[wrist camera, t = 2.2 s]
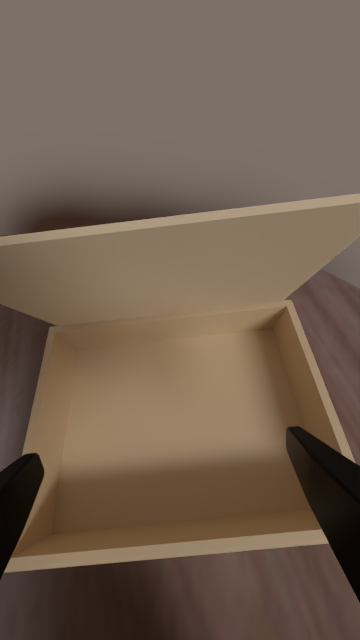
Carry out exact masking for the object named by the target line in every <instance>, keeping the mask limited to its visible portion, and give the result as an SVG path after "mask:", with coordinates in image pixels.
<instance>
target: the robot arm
mask: <svg viewBox="0 0 360 640" xmlns="http://www.w3.org/2000/svg"><path fill="white" fill-rule="evenodd" d="M286 449H287V453H288V455H289V458H290V460H291V463H292V465H293V467H294V470H295V472H296V475H297V477H298V480H299V482H300V485H301V487H302V490H303V492H304V494H305V497H306V499H307V501H308V503H309V505H310V507H311V509H312V511H313V513H314V515H315V517H316V519H317V521H318V523H319V525H320V527H321V529H322V531H323V533H324V535H325V536H326V538H327V540H328V542H329V544H330V546H331V548H332V550H333V552H334V554H335V556H336V558H337V560H338V562H339V564H340V565H341V567H342V569H343V571H344V573H345V575H346V577H347V579H348V581H349V583H350V585H351V587H352V589H353V591H354V593H355V594H356V596H357V598H358V600H359V602H360V466H359V465H357V464H356V463H354V462H353V461H351V460H350V459H348V458H347V457H345V456H344V455H342V454H341V453H339V452H338V451H336V450H335V449H333V448H332V447H330V446H329V445H327V444H326V443H324V442H323V441H321V440H320V439H318V438H316V437H315V436H313V435H312V434H310V433H309V432H307V431H306V430H304V429H303V428H301V427H300V426H290V427H287V429H286ZM43 478H44V467H43V464H42V461H41V459H40V456H39V454H38V453H27V454H24V455H23V456H21V457H20V458H19V459H17V460H16V461H15V462H13V463H12V464H11V465H9V466H8V467H7V468H5V469H4V470H2V471H1V472H0V580H1V578H2V575H3V573H4V571H5V569H6V567H7V565H8V563H9V560H10V558H11V556H12V554H13V552H14V550H15V548H16V545H17V543H18V541H19V539H20V537H21V535H22V532H23V530H24V528H25V525H26V523H27V520H28V518H29V515H30V512H31V510H32V507H33V504H34V502H35V499H36V497H37V494H38V491H39V489H40V486H41V483H42V481H43Z"/></svg>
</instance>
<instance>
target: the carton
mask: <svg viewBox="0 0 360 640" xmlns="http://www.w3.org/2000/svg"><path fill="white" fill-rule="evenodd" d="M290 426H300V427H301V428H303V429H304V430H306V431H307V432H309V433H310V434H312V435H313V436H315V437H316V438H318V439H320V440H321V441H323V442H324V443H326V444H327V445H329V446H330V447H332V448H333V449H335V450H336V451H338V452H339V453H341V454H342V455H344V456H345V457H347V458H348V459H350V460H351V461H353V462H354V463H355V460H354V458H353V455H352V453H351V450H350V448H349V445H348V443H347V440H346V437H345V435H344V432H343V430H342V427H341V425H340V422H339V420H338V417H337V415H336V412H335V409H334V407H333V404H332V402H331V399H330V397H329V394H328V392H327V389H326V387H325V384H324V382H323V379H322V376H321V374H320V371H319V369H318V366H317V364H316V361H315V359H314V356H313V354H312V351H311V348H310V346H309V343H308V341H307V338H306V336H305V333H304V331H303V328H302V326H301V323H300V320H299V318H298V315H297V313H296V310H295V308H294V305H293V303H292V300H284V301H280V302H271V303H262V304H253V305H244V306H235V307H226V308H218V309H209V310H200V311H191V312H182V313H173V314H164V315H155V316H146V317H137V318H128V319H120V320H111V321H102V322H93V323H84V324H75V325H66V326H53V327H50V328H49V332H48V337H47V341H46V346H45V351H44V355H43V360H42V365H41V369H40V374H39V379H38V383H37V388H36V392H35V397H34V402H33V406H32V411H31V416H30V420H29V425H28V429H27V434H26V439H25V443H24V448H23V453H22V456H23V455H24V454H27V453H38V454H39V456H40V459H41V461H42V464H43V467H44V478H43V481H42V483H41V486H40V489H39V491H38V494H37V497H36V499H35V502H34V504H33V507H32V510H31V512H30V515H29V518H28V520H27V523H26V525H25V528H24V530H23V532H22V535H21V537H20V539H19V541H18V543H17V545H16V548H15V550H14V552H13V554H12V556H11V558H10V560H9V563H8V565H7V567H6V569H5V571H4V573H8V572H19V571H30V570H41V569H52V568H63V567H74V566H84V565H95V564H106V563H117V562H128V561H139V560H150V559H161V558H172V557H183V556H194V555H205V554H216V553H227V552H238V551H249V550H260V549H271V548H282V547H293V546H304V545H315V544H326V543H329V542H328V540H327V538H326V536H325V535H324V533H323V531H322V529H321V527H320V525H319V523H318V521H317V519H316V517H315V515H314V513H313V511H312V509H311V507H310V505H309V503H308V501H307V499H306V497H305V494H304V492H303V490H302V487H301V485H300V482H299V480H298V477H297V475H296V472H295V470H294V467H293V465H292V463H291V460H290V458H289V455H288V453H287V449H286V429H287V427H290Z"/></svg>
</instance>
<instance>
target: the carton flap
mask: <svg viewBox="0 0 360 640" xmlns="http://www.w3.org/2000/svg"><path fill="white" fill-rule="evenodd" d="M359 236H360V194H352V195H344V196H335V197H327V198H319V199H310V200H302V201H294V202H285V203H277V204H269V205H261V206H253V207H245V208H236V209H228V210H220V211H211V212H203V213H195V214H186V215H178V216H170V217H162V218H153V219H145V220H136V221H128V222H121V223H112V224H103V225H95V226H87V227H79V228H70V229H62V230H54V231H45V232H37V233H29V234H21V235H12V236H4V237H0V304H2V305H4V306H7V307H9V308H12V309H15V310H17V311H20V312H22V313H25V314H27V315H30V316H33V317H35V318H38V319H40V320H43V321H46V322H48V323H51V324H53V325H56V326H66V325H75V324H84V323H93V322H102V321H111V320H120V319H128V318H137V317H146V316H155V315H164V314H173V313H182V312H191V311H200V310H209V309H218V308H226V307H235V306H244V305H253V304H262V303H271V302H280V301H283V300H284V299H285V298H287V297H288V296H289V295H290V294H291V293H293V292H294V291H295V290H296V289H297V288H299V287H300V286H301V285H302V284H303V283H305V282H306V281H307V280H308V279H309V278H311V277H312V276H313V275H314V274H315V273H317V272H318V271H319V270H320V269H321V268H322V267H324V266H325V265H326V264H327V263H328V262H330V261H331V260H332V259H333V258H334V257H336V256H337V255H338V254H339V253H340V252H342V251H343V250H344V249H345V248H346V247H348V246H349V245H350V244H351V243H352V242H354V241H355V240H356V239H357V238H358V237H359Z"/></svg>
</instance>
